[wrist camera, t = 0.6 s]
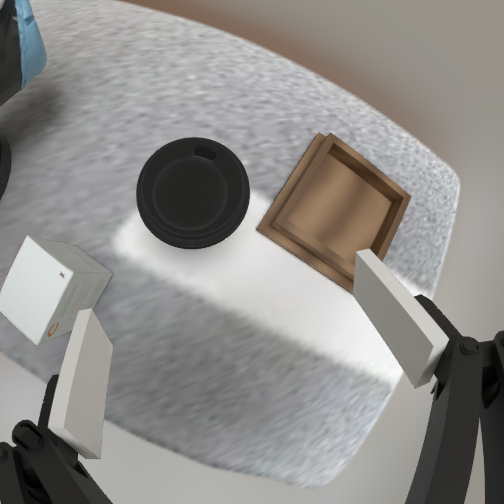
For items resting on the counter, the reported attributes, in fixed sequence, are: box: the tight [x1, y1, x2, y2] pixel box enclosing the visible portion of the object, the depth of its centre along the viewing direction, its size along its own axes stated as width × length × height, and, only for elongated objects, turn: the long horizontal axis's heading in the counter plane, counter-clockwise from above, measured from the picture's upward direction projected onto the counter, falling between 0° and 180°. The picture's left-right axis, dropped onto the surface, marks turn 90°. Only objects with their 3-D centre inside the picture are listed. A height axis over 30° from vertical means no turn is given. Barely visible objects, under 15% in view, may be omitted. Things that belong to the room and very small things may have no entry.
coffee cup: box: [136, 137, 250, 249], centre depth 31 cm, size 9×9×15 cm
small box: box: [0, 235, 113, 346], centre depth 29 cm, size 8×6×13 cm
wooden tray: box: [256, 132, 411, 294], centre depth 39 cm, size 16×16×4 cm
